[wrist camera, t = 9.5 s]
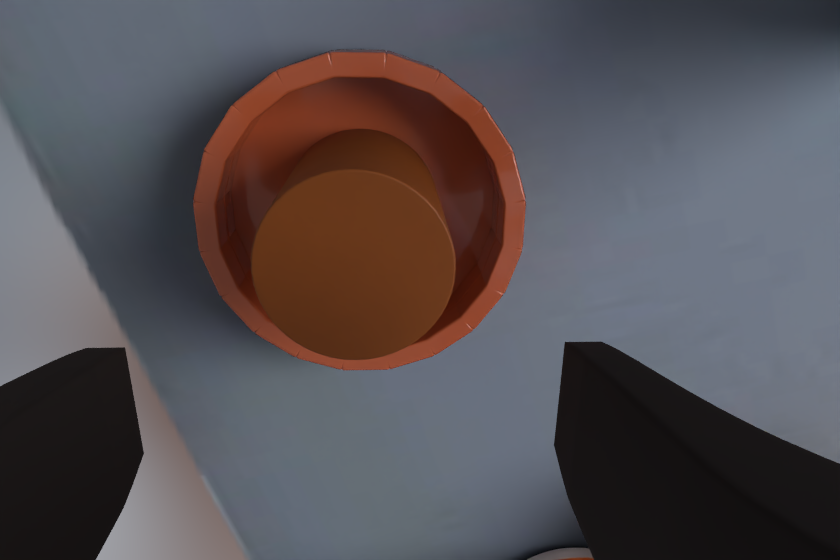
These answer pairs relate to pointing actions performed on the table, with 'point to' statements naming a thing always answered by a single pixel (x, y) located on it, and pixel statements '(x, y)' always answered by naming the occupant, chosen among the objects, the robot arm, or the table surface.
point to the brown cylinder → (355, 248)
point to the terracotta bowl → (378, 110)
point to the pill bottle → (565, 554)
